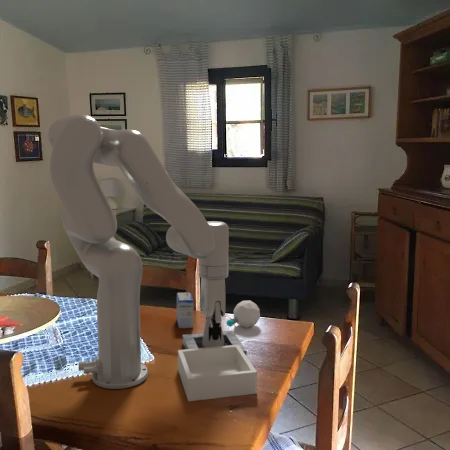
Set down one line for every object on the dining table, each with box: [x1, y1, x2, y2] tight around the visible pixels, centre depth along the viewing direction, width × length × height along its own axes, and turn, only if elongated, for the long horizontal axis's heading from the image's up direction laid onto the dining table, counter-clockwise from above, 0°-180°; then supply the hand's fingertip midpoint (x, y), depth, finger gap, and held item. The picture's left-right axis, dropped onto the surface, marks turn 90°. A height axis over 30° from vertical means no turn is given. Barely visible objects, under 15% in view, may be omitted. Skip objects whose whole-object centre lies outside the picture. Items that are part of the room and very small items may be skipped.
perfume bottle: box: [226, 299, 261, 329], centre depth 143 cm, size 8×8×12 cm
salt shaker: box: [202, 310, 225, 348], centre depth 126 cm, size 6×6×13 cm
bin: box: [177, 345, 258, 402], centre depth 110 cm, size 15×15×5 cm
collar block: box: [182, 330, 248, 357], centre depth 127 cm, size 14×14×2 cm
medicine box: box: [176, 292, 195, 329], centre depth 146 cm, size 8×4×9 cm, turn 10°
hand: (213, 338), depth 126 cm, fingers closed on salt shaker, 3 cm apart
